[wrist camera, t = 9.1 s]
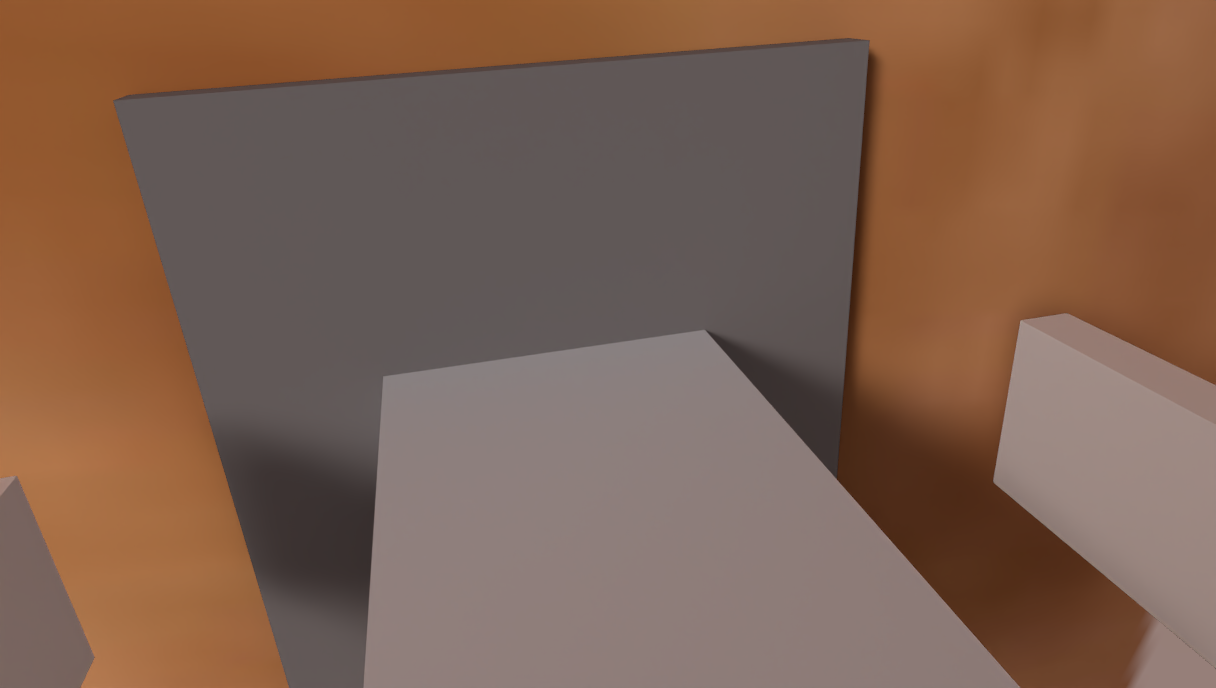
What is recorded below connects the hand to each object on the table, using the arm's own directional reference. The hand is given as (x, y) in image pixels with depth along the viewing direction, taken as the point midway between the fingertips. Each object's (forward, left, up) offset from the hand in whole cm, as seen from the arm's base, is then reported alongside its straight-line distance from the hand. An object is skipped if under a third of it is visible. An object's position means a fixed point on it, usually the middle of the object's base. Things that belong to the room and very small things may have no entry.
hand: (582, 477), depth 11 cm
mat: (+11, 0, -3) cm, 11 cm away
